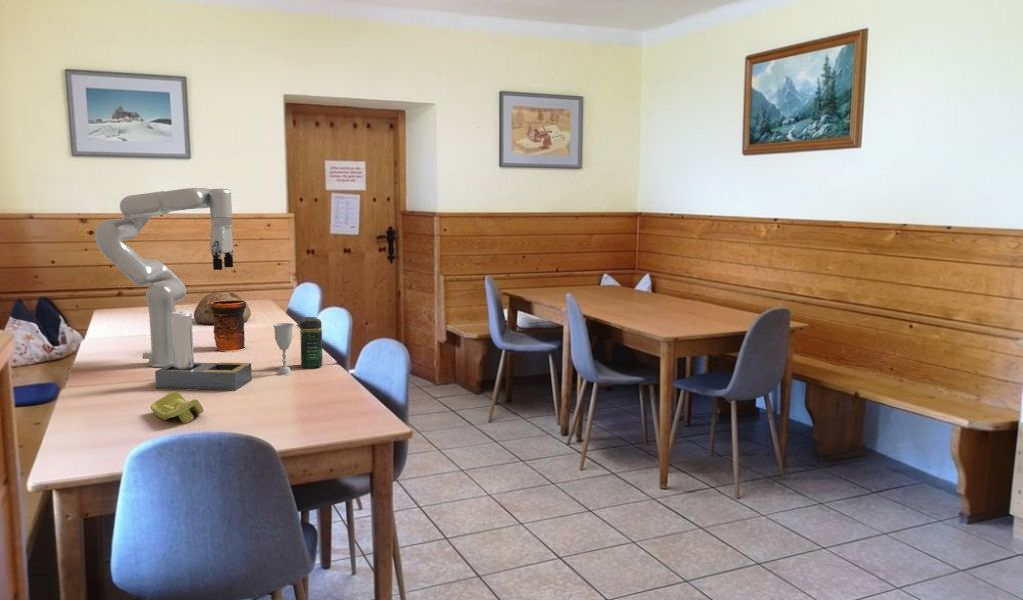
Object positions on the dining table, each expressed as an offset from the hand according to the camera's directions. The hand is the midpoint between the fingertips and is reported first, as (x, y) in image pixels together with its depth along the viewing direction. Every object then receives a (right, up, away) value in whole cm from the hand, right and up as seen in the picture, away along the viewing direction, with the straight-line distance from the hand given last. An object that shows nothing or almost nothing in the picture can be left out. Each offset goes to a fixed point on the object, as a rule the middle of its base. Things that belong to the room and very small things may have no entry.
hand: (223, 268), depth 292 cm
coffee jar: (+32, -37, +4) cm, 49 cm away
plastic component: (+10, -46, -64) cm, 80 cm away
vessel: (-11, -32, +36) cm, 50 cm away
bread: (-38, -23, +103) cm, 112 cm away
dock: (+3, -41, -25) cm, 48 cm away
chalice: (+25, -39, -8) cm, 47 cm away
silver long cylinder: (-4, -41, -25) cm, 48 cm away
